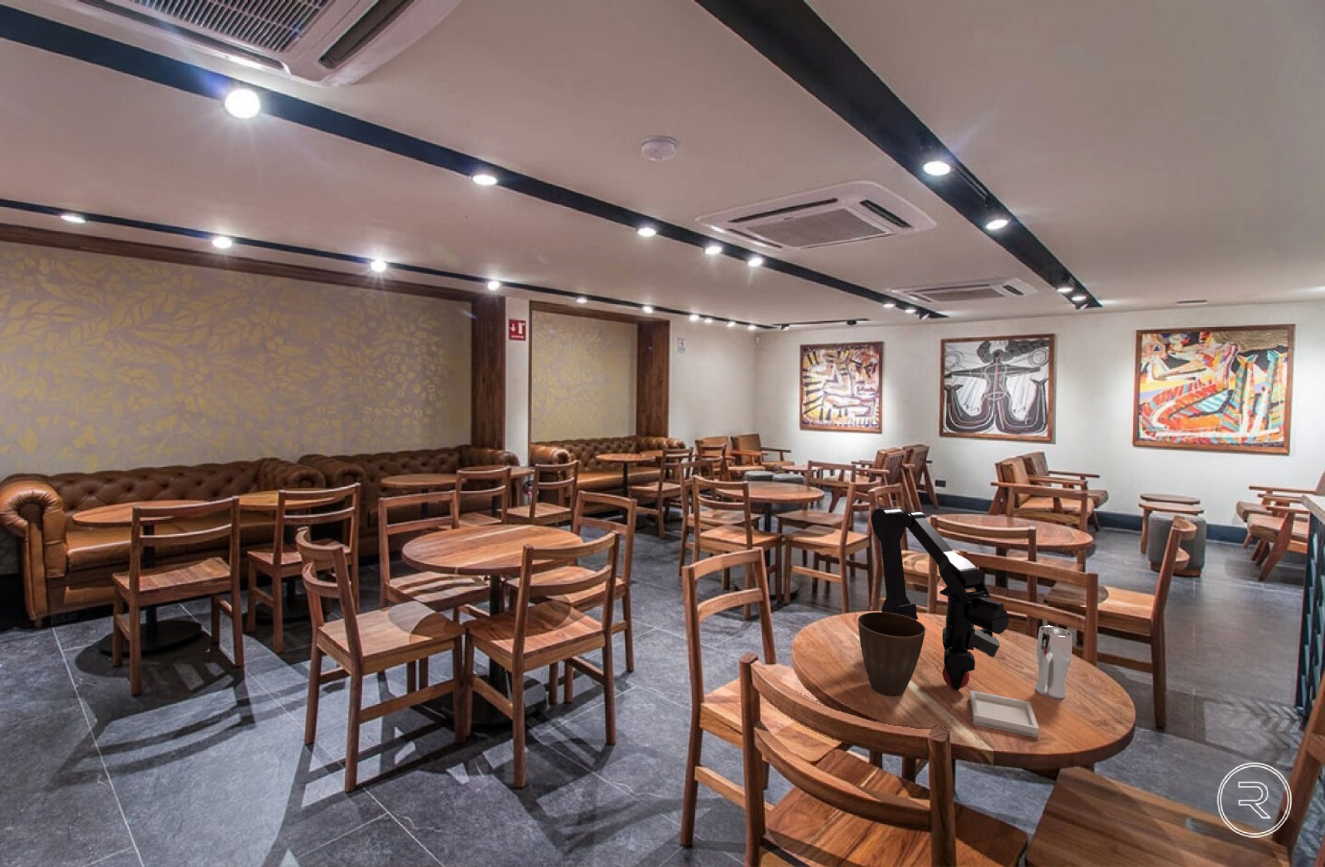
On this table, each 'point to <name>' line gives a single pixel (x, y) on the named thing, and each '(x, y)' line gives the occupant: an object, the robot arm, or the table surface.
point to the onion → (948, 682)
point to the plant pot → (890, 650)
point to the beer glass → (1053, 660)
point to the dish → (1003, 713)
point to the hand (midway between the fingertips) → (955, 681)
